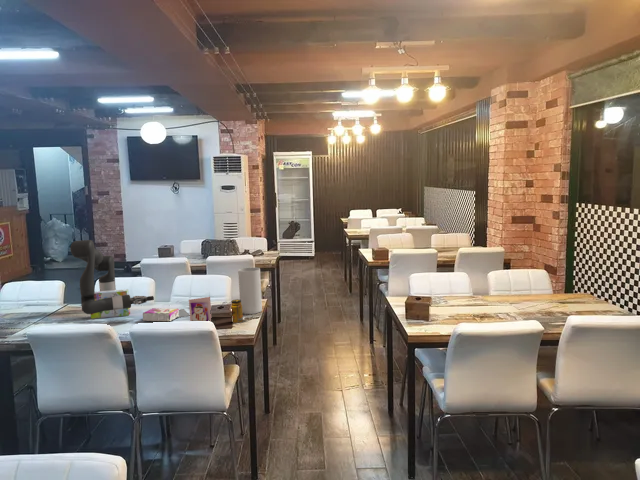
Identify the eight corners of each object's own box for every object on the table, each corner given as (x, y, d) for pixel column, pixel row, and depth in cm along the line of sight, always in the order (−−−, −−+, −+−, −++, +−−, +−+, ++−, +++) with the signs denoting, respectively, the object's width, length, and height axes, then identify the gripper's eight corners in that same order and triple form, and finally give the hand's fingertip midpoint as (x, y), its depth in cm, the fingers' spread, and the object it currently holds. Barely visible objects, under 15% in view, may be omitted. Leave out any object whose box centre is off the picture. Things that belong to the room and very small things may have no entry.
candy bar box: (152, 307, 290) (179, 308, 287) (153, 316, 291) (179, 316, 287) (142, 312, 279) (169, 313, 276) (142, 321, 280) (170, 322, 277)
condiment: (228, 322, 273) (227, 300, 272) (240, 318, 280) (239, 297, 278) (237, 324, 269) (236, 302, 267) (249, 320, 275) (248, 299, 274)
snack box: (130, 313, 300) (128, 288, 298) (128, 316, 294) (126, 290, 293) (93, 316, 296) (90, 291, 295) (90, 319, 291) (88, 293, 289)
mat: (154, 321, 280) (154, 320, 280) (149, 314, 295) (149, 314, 295) (190, 315, 289) (190, 315, 289) (183, 309, 304) (183, 308, 304)
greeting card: (189, 327, 265) (188, 300, 264) (195, 323, 273) (193, 296, 271) (210, 328, 264) (208, 300, 262) (215, 323, 271) (213, 296, 269)
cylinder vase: (240, 315, 287) (238, 272, 284) (240, 309, 299) (238, 268, 296) (262, 313, 289) (260, 270, 286) (261, 308, 301) (259, 267, 298)
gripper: (122, 298, 273) (155, 293, 281) (119, 293, 285) (151, 289, 293) (123, 311, 274) (156, 306, 282) (120, 306, 286) (152, 302, 294)
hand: (153, 297), depth 287 cm, fingers closed
